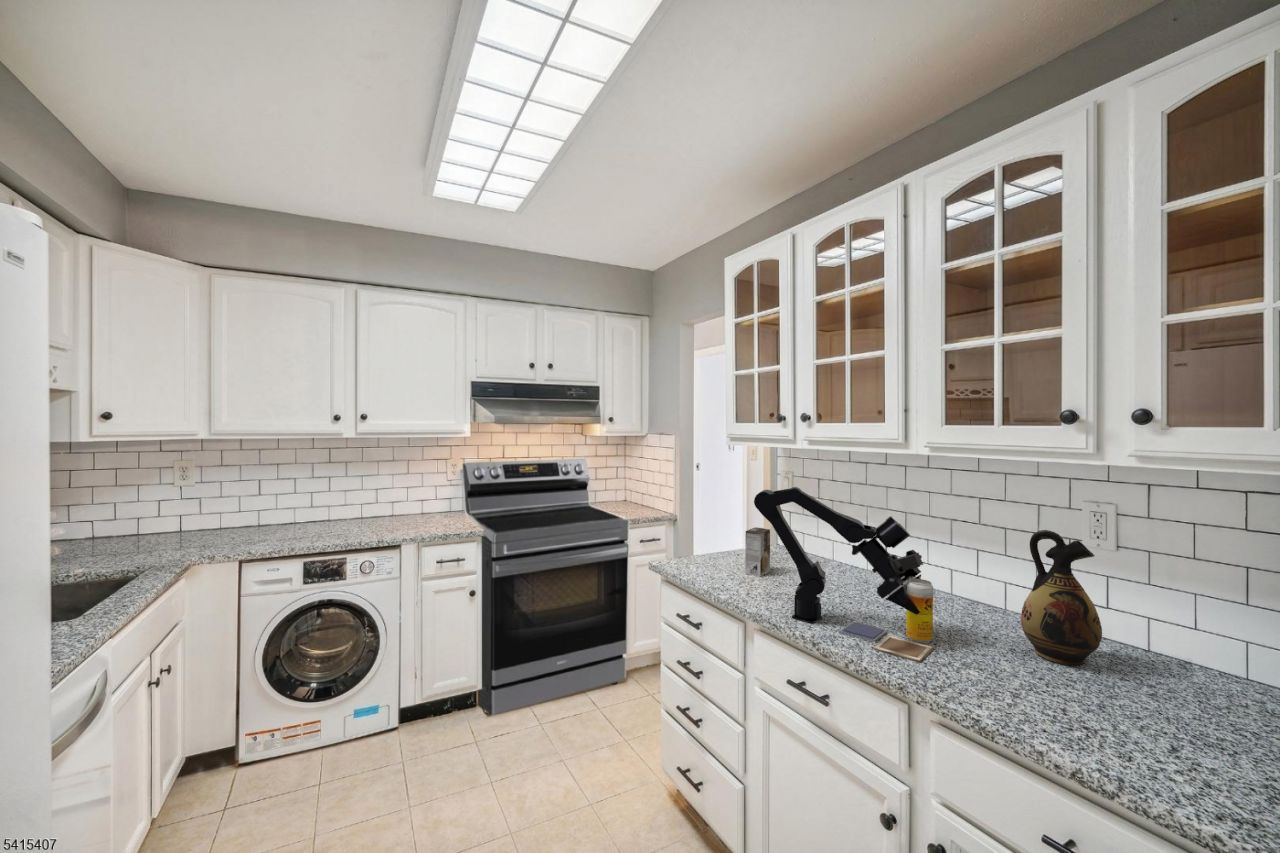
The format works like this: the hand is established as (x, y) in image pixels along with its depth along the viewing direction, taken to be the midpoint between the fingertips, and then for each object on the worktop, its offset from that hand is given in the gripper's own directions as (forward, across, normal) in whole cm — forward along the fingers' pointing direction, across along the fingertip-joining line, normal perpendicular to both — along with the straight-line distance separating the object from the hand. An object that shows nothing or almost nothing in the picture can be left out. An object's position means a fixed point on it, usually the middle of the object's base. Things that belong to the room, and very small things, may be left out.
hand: (923, 609), depth 140 cm
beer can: (+5, 0, +6) cm, 8 cm away
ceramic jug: (+24, +12, -12) cm, 30 cm away
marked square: (+4, -10, +7) cm, 13 cm away
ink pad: (-4, -6, +15) cm, 16 cm away
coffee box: (-40, +26, +51) cm, 70 cm away
